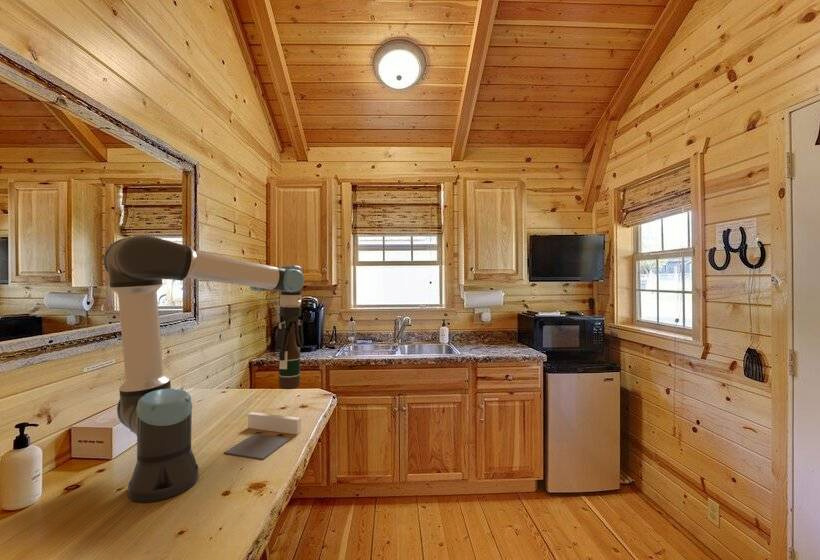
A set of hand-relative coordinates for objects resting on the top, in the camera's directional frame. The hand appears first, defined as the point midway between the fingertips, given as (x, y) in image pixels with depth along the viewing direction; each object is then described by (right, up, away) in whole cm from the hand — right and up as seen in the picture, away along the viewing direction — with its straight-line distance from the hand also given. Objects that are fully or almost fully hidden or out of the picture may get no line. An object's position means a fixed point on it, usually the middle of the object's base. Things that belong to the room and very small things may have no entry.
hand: (289, 366), depth 137 cm
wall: (-2, -20, -9) cm, 22 cm away
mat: (-3, -20, -22) cm, 30 cm away
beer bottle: (0, -8, 0) cm, 8 cm away
